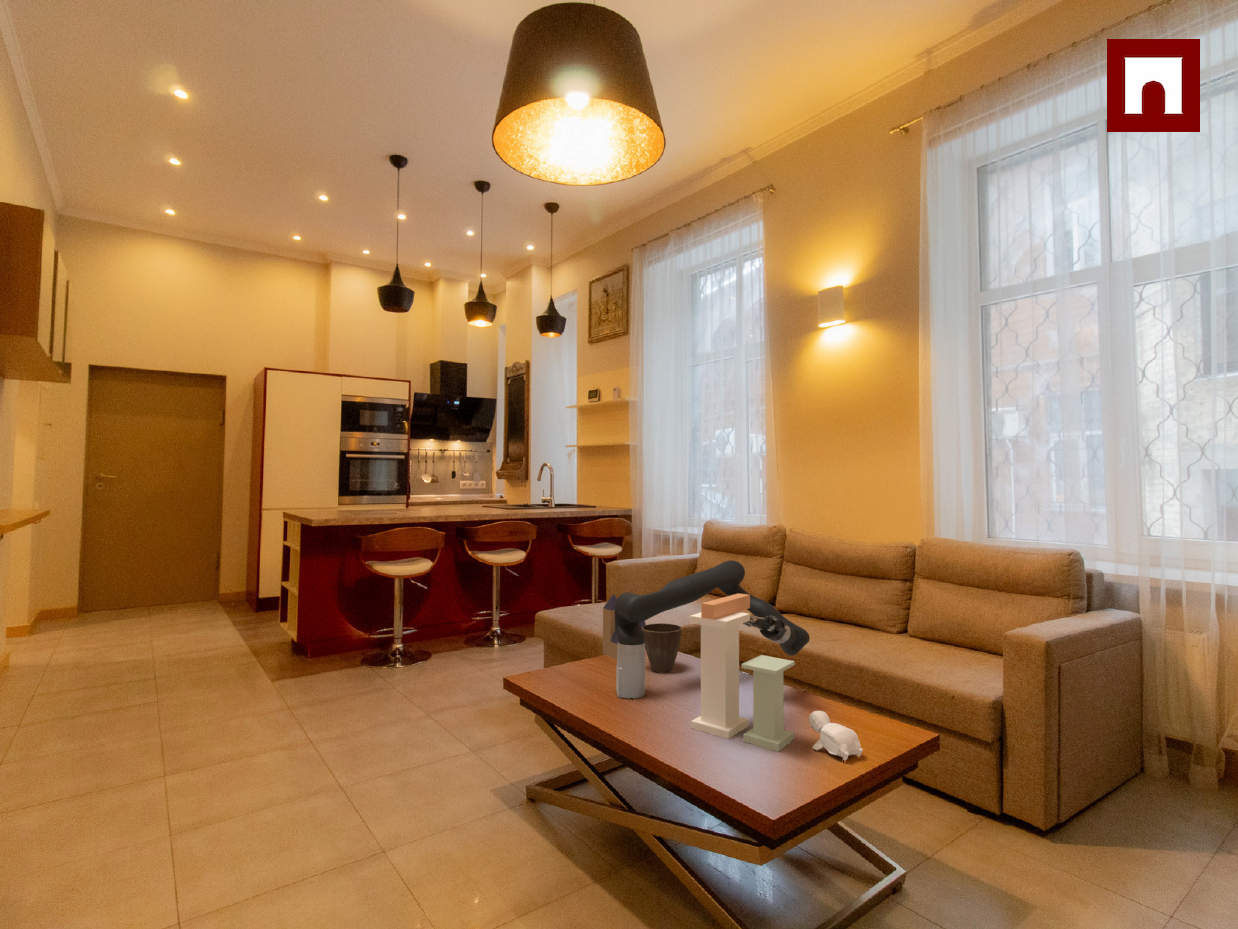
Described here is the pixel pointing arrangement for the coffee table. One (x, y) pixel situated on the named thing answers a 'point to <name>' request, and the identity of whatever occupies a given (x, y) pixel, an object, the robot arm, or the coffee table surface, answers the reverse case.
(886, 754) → the coffee table surface
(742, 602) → the beam
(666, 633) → the plant pot
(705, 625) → the tall stand
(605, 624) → the toy building blocks
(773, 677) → the short stand
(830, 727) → the white turtle figurine
